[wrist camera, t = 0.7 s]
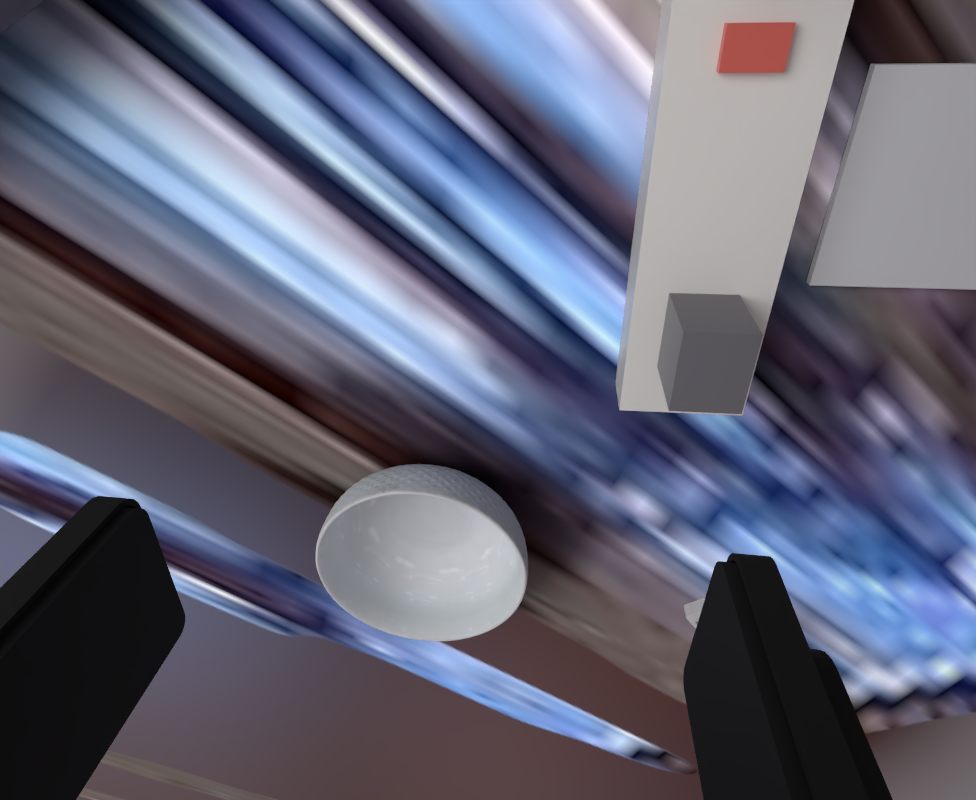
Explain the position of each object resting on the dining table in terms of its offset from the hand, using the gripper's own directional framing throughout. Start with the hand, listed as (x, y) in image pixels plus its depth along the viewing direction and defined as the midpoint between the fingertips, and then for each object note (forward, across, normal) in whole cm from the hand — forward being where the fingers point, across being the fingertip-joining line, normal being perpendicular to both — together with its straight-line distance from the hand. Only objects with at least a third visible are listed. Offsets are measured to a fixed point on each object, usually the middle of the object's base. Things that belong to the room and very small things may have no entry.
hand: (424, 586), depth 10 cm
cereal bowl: (+32, +7, +28) cm, 43 cm away
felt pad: (+31, -24, -1) cm, 39 cm away
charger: (+30, -11, +8) cm, 33 cm away
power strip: (+31, -11, +1) cm, 33 cm away
